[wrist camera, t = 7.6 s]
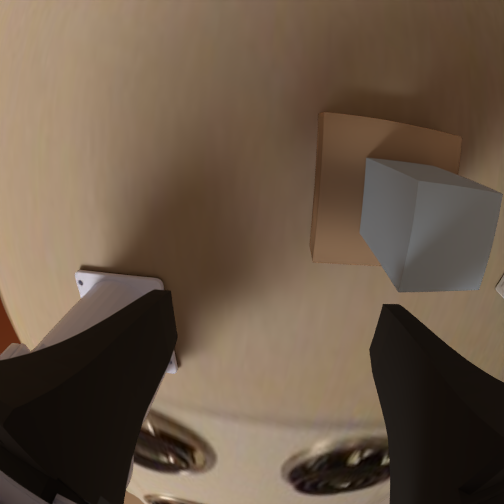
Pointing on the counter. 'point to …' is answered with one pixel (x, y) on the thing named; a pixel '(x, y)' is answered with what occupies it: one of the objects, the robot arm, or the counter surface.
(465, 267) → the slate-blue block
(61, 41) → the counter surface
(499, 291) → the light bulb box
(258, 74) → the counter surface
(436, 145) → the tan flat block
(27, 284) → the counter surface
